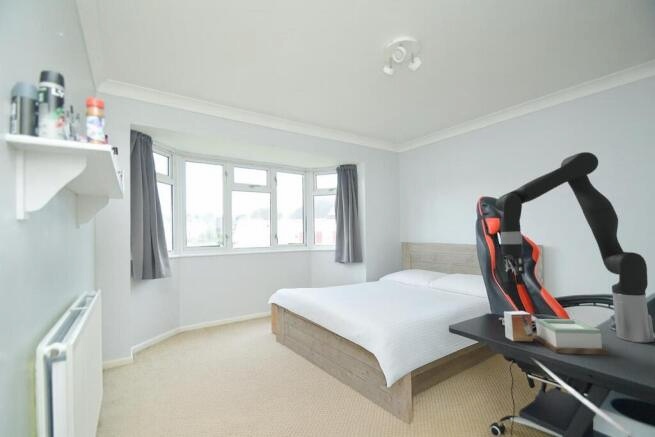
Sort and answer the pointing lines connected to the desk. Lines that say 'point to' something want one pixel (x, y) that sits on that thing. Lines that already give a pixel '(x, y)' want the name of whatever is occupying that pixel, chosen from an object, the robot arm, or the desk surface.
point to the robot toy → (532, 321)
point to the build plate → (571, 350)
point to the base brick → (568, 333)
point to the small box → (518, 326)
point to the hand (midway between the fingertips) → (514, 283)
